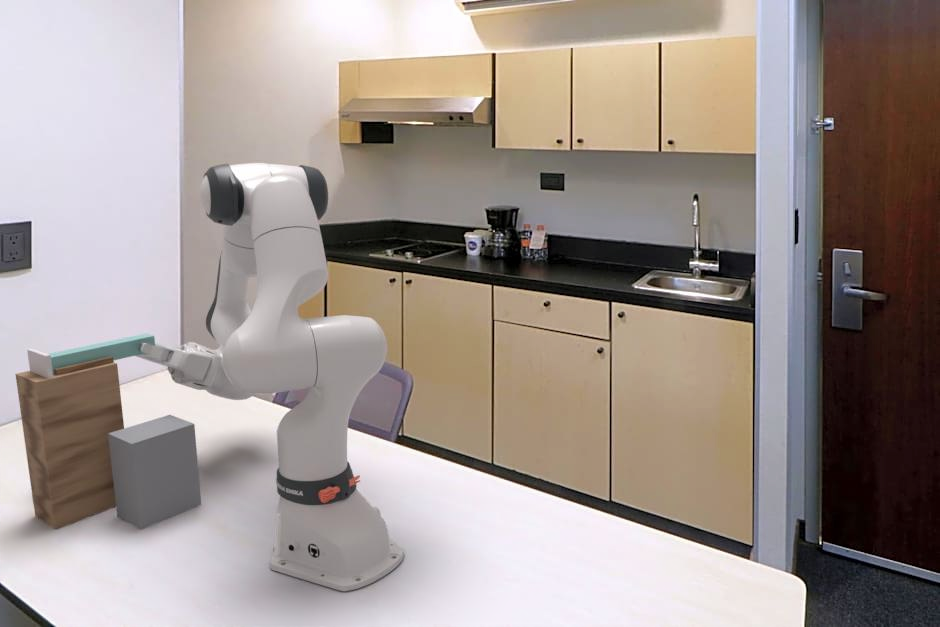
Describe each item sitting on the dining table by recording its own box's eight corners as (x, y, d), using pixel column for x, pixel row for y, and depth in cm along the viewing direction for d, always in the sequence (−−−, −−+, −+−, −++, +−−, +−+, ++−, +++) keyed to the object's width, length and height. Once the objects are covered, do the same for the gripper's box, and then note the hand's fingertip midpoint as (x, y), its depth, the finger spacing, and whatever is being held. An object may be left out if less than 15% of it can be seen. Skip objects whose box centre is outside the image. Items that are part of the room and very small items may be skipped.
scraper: (161, 352, 145) (159, 332, 144) (48, 378, 128) (45, 356, 128) (141, 346, 149) (139, 327, 148) (30, 371, 133) (27, 349, 132)
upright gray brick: (201, 504, 141) (194, 423, 138) (140, 529, 132) (131, 444, 129) (177, 492, 146) (169, 414, 143) (117, 516, 137) (107, 433, 133)
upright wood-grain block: (131, 500, 143) (116, 358, 137) (55, 529, 132) (35, 376, 126) (110, 489, 148) (94, 351, 142) (35, 516, 137) (14, 368, 131)
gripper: (168, 342, 161) (110, 321, 150) (226, 358, 149) (167, 336, 138) (157, 370, 160) (98, 350, 149) (214, 388, 147) (154, 368, 137)
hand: (132, 344), depth 143 cm, fingers open, 5 cm apart
